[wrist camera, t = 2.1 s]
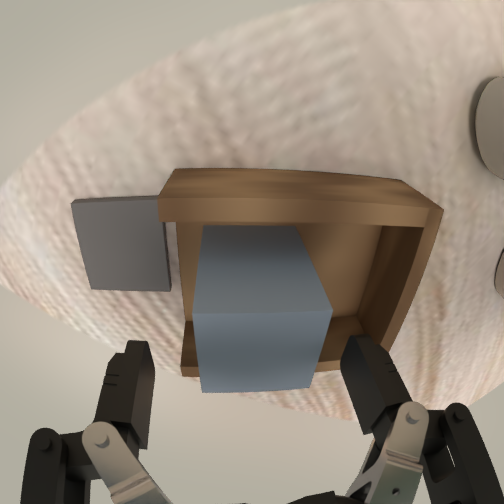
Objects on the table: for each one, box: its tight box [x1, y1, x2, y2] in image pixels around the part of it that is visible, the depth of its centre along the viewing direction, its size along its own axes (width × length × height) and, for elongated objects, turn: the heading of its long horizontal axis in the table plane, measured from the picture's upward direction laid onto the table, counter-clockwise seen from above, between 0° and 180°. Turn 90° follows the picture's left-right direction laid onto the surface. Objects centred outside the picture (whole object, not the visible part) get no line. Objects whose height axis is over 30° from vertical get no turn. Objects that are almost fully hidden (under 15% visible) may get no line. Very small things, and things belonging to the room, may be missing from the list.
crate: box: [157, 168, 444, 377], centre depth 16 cm, size 13×11×4 cm
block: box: [192, 225, 333, 393], centre depth 15 cm, size 5×5×7 cm
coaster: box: [71, 196, 172, 292], centre depth 17 cm, size 6×6×1 cm
